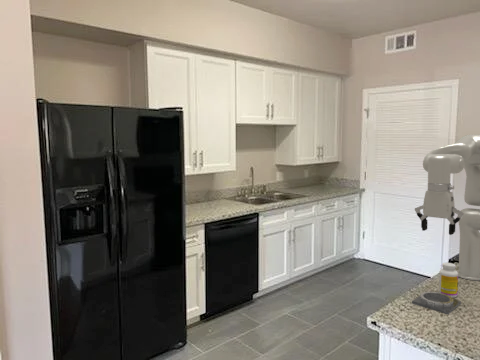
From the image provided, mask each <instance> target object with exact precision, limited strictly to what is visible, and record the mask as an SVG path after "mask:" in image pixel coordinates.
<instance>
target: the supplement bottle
mask: <svg viewBox="0 0 480 360" xmlns="http://www.w3.org/2000/svg"><path fill="white" fill-rule="evenodd" d="M441 266H442V268H441V269H440V270H439V275H438V276H439V279H438V280H439V281H438V283H439V285H438V292H439V293H442V294H446V295H448V296H450V297H452V299H455V298H458V295H459V294H458V293H459V277H458V272H457V271H456V269H457V268H456V264H455V263H452V262H443V263H442V265H441Z"/></svg>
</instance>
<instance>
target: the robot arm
mask: <svg viewBox="0 0 480 360" xmlns="http://www.w3.org/2000/svg"><path fill="white" fill-rule="evenodd" d="M422 167H423V170H424V171H425V172H426V173H427V190H425V193H424V198H423V205H419V206H418V207H415V208H414V211H415V214H416V216H417V217H418V218H419V220H420V221H421V225H420V227H421V231H422V232H423V231H426V230H428V217H429V218H437V219H445V220H446V219H447V221H448V222H449V224H448V235H450V236H452V235H454V234H455V233H456V225H457V223H458V226H459V227H458V228H459V251H458V269H455V271H457V272H458V278H461V279H465V280H469V281H480V208H471V207H470V208H469V207H467V208H462V209H461V210H459V209H457V208H455V206H456V205H455V199H454V197H455V196H454V193H453V191H452V190H455V185H452V184H451V175H452V174H458V173H461V172H462V171H463V170H465V175H466V176H465V178H466V179H465V187H464V194H463V196H464V197H463V198H464V203H465V204H466V205H469V206H475V207H480V134H467V135H464V136H462V137H461V138H459V139H458V140H457V141H456V142H454V143H453V144H452V143H451V144H448V145H446V146H442V147H437V148H435V149H432V150H431V151H429V152H427V154H426V155H425V156H424V159H423V160H422ZM421 210H422V212H421ZM455 214H456V215H457V217H456V218H455Z"/></svg>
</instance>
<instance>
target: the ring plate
mask: <svg viewBox="0 0 480 360" xmlns="http://www.w3.org/2000/svg"><path fill="white" fill-rule="evenodd" d="M411 304H413V305H416V306H419V307H422V308H425V309H429V310H432V311H436V312H438V313H443V314H445V315H450V314H451V313H452V312H454V310H456V309H457V308H458V307H459V306H460V305H461V304H462V300H458V299H455V298H452V297H450V296H448V295H446V294H442V293H439V291H437V292H436V291H424V292H422V293H420V295H419V296H417V297H416V298H415V299H412V300H411Z"/></svg>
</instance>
